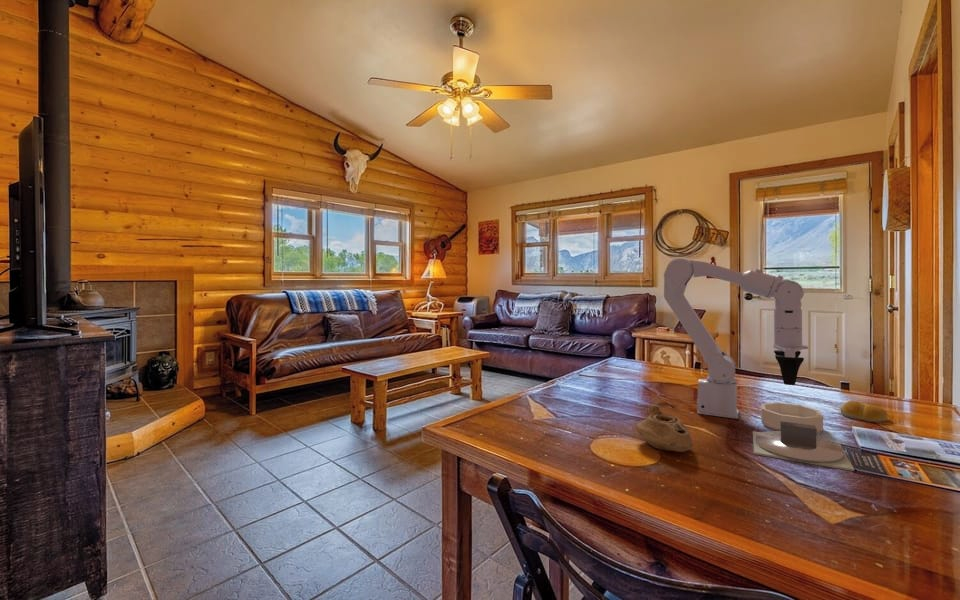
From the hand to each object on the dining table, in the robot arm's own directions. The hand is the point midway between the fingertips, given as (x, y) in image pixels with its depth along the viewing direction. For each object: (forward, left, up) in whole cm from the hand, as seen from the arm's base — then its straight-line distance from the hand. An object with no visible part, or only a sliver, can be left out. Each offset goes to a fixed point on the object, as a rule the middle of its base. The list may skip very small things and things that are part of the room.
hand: (788, 381), depth 107 cm
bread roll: (+17, +14, -11) cm, 24 cm away
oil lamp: (-24, -32, -11) cm, 41 cm away
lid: (0, -20, -10) cm, 23 cm away
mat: (0, -20, -10) cm, 23 cm away
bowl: (0, -3, -10) cm, 11 cm away
